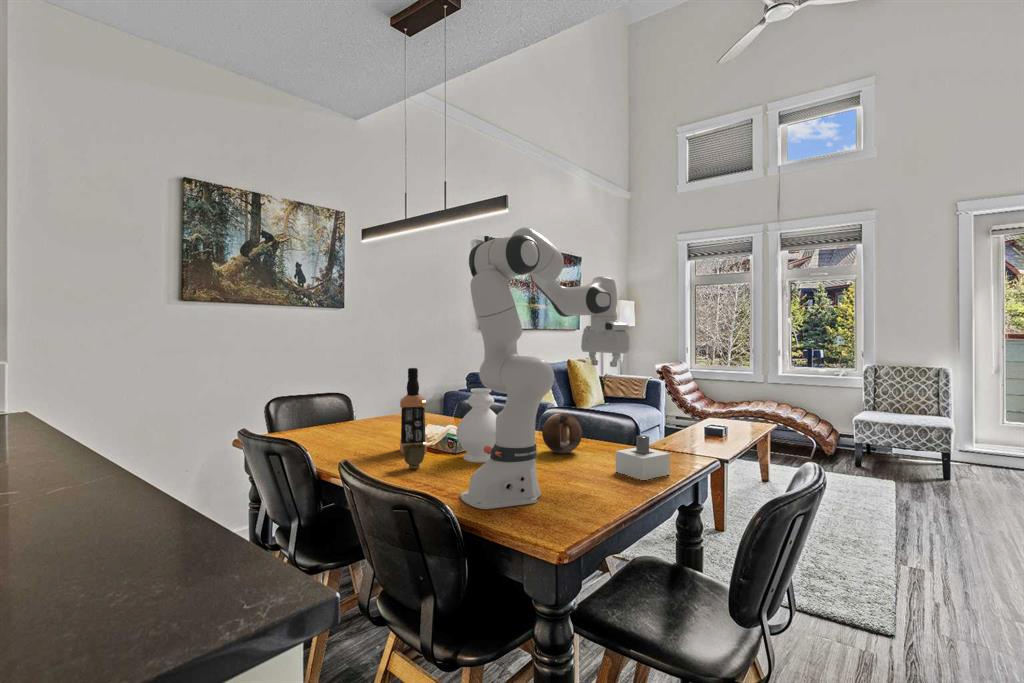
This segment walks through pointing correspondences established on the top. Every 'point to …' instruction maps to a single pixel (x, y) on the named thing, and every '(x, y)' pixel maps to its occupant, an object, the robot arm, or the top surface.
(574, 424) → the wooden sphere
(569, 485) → the top surface
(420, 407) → the whiskey bottle
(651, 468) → the block
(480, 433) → the decorative vase
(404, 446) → the cup
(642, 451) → the steel pin
